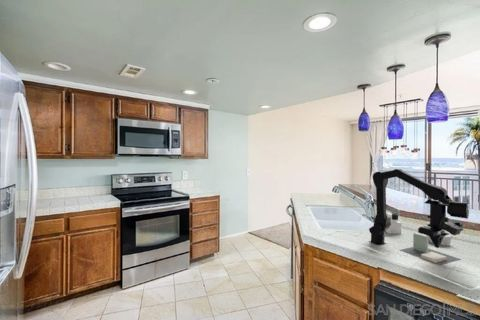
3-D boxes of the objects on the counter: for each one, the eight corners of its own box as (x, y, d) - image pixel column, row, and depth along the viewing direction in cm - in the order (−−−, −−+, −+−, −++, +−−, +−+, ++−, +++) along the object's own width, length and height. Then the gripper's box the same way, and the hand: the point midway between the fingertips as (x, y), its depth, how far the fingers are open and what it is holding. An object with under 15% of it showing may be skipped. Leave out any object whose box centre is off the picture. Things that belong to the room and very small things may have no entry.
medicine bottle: (395, 230, 153) (395, 212, 153) (401, 234, 146) (401, 214, 145) (383, 230, 154) (383, 211, 153) (389, 234, 146) (389, 214, 146)
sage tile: (426, 253, 116) (426, 236, 116) (413, 248, 122) (413, 233, 122) (428, 252, 117) (428, 236, 117) (415, 248, 123) (415, 232, 122)
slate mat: (440, 266, 103) (440, 265, 103) (398, 251, 120) (398, 250, 120) (461, 260, 109) (461, 259, 109) (419, 246, 126) (419, 245, 126)
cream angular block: (446, 260, 108) (435, 263, 105) (431, 255, 114) (421, 257, 111) (446, 256, 108) (435, 259, 105) (431, 251, 114) (421, 254, 111)
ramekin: (420, 241, 135) (420, 231, 135) (433, 238, 139) (433, 229, 139) (443, 248, 124) (443, 238, 124) (456, 245, 128) (456, 235, 128)
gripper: (446, 220, 99) (445, 257, 100) (471, 216, 106) (470, 251, 107) (417, 214, 110) (417, 248, 110) (442, 211, 117) (441, 242, 117)
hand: (437, 247), depth 111 cm, fingers closed
